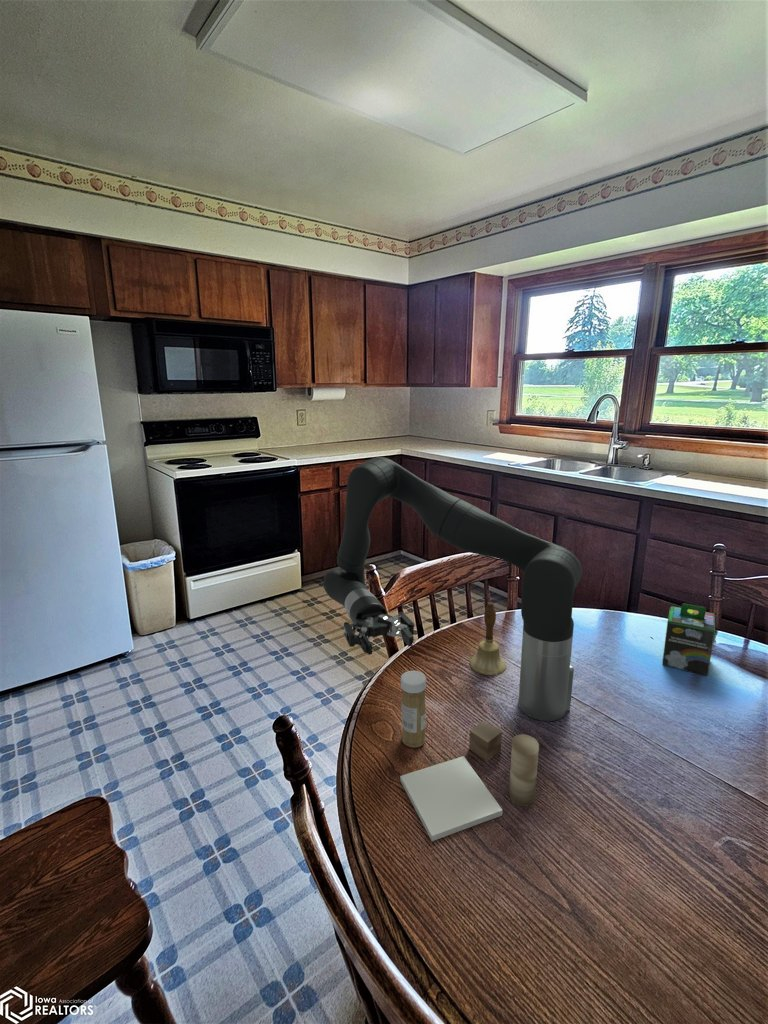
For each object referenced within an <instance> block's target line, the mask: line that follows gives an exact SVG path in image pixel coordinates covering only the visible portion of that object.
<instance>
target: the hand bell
mask: <svg viewBox="0 0 768 1024" xmlns="http://www.w3.org/2000/svg"><path fill="white" fill-rule="evenodd" d="M494 604H495V603H493V602H492V601H489V602H487V604H486V607H485V610H484V612H483V613H484V614H483V618H484V619H483V620H484V625H485V640H481V641H480V643H479V645H478V649H477V652H476V654H475V655H474V656H473V657H471V658H470V661H469V665H470V668H471V669H472V670H473V671H474V672H477V673H478V674H481V675H484V676H498V675H500V674H503V673H504V672H505V671H506V670H507V664H506V662H505V661H504V659H503V658H502V657H501V655H500V645H499V644H498V643H497V641H494V626H495V624H496V620H497V613H496V612H497V611H496V608H495V606H494Z"/></svg>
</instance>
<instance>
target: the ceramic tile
mask: <svg viewBox="0 0 768 1024" xmlns="http://www.w3.org/2000/svg"><path fill="white" fill-rule="evenodd" d="M399 780H400V783H401V785H402V787H403V788H404V791H405V793H406V795H407V796H408V798H409V800H410V802H411V804H412V806H413V808H414V810H415V812H416V813H417V816H418V818H419V819H420V821H421V823H422V825H423V827H424V829H425V831H426V833H427V834H428V836H429V839H430V841H431V842H434V841H436V840H439V839H442V838H444V837H447V836H450V835H453V834H456V833H459V832H461V831H463V830H466V829H469V828H473V827H474V826H477V825H479V824H482V823H486V822H488V821H490V820H493V819H497V818H499V817H501V816H503V813H504V812H503V809H502V807H501V806H500V805H499V803H498V801H497V800H496V799H495V797H494V796H493V794H492V793H491V792H490V791H489V789H488V788H487V786H486V785H485V784H484V782H483V781H482V780H481V778H480V777H479V775H478V774H477V773H476V771H475V770H474V769H473V767H472V766H471V764H470V763H469V762H468V760H467V758H466V757H465V756H464V755H463V756H459V757H456V758H453V759H450V760H447V761H443V762H440V763H437V764H434V765H431V766H428V767H425V768H424V767H423V768H422V769H418V770H415V771H412V772H409V773H406V774H405V773H404V774H402V775H400V777H399Z"/></svg>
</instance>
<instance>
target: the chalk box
mask: <svg viewBox="0 0 768 1024" xmlns="http://www.w3.org/2000/svg"><path fill="white" fill-rule="evenodd" d="M668 610H669V611H668V616H667V622H666V624H667V625H666V630H665V637H664V638H665V640H664V646H663V647H664V648H663V655H662V666H666V667H670V668H674V669H677V670H683V671H686V672H690V673H694V674H696V675H702V676H705V677H707V676H708V675H709V670H710V663H711V657H712V651H713V645H714V638H715V633H716V623H715V621H716V616H715V613H714V612H708V611H707V608H706V607H705V606H701V605H695V604H690V603H682V604H681V605H680V607H678V606H670V607H669V609H668Z"/></svg>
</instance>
